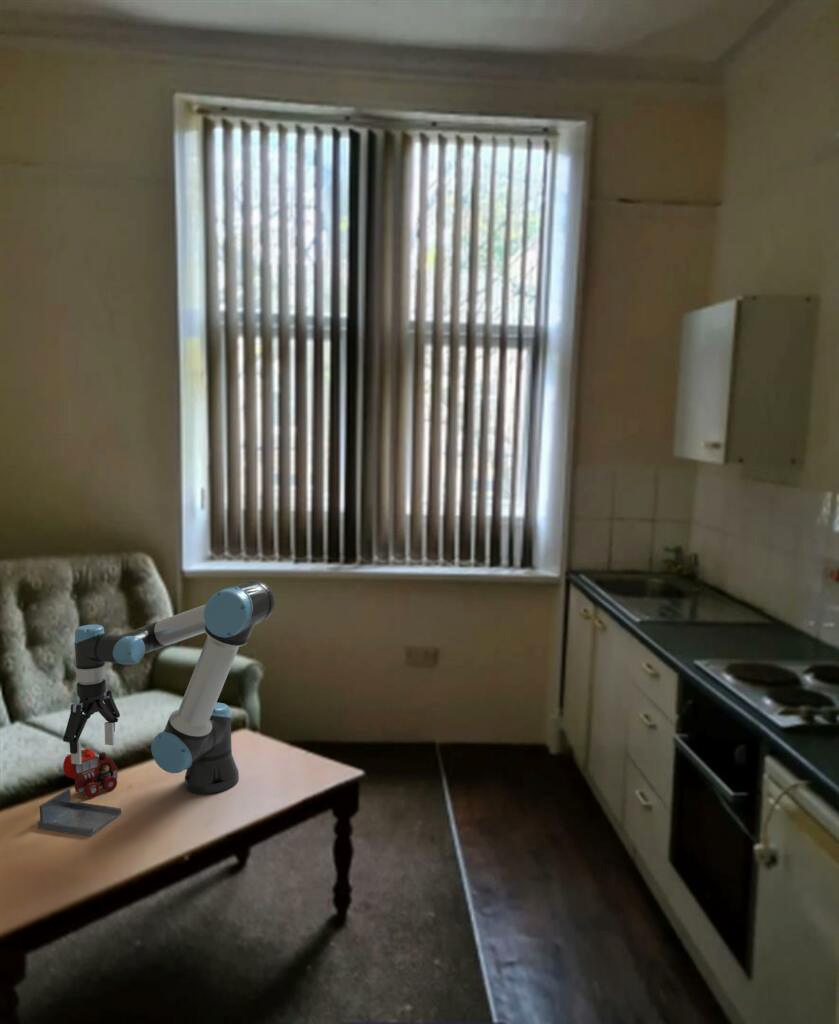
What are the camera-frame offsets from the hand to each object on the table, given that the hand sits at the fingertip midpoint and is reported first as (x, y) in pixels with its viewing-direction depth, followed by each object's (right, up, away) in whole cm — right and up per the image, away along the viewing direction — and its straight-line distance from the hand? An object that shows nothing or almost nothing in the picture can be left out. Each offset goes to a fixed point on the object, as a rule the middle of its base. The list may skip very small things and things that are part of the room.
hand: (93, 753), depth 212 cm
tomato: (-8, -10, +11) cm, 17 cm away
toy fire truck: (+1, -11, +1) cm, 11 cm away
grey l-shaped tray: (+4, -12, -17) cm, 21 cm away
